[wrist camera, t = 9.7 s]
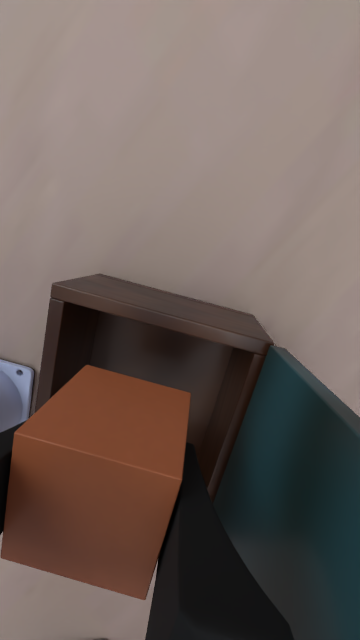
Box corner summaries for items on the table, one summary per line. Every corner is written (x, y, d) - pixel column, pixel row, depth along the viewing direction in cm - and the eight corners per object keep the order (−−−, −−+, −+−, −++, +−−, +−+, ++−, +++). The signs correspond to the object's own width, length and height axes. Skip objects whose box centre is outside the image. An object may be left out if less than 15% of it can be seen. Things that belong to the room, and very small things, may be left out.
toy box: (71, 429, 24) (23, 492, 17) (99, 273, 20) (51, 282, 14) (202, 466, 23) (201, 544, 17) (253, 314, 20) (275, 343, 14)
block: (70, 452, 14) (-1, 558, 9) (86, 364, 13) (13, 432, 8) (166, 479, 14) (145, 601, 9) (191, 392, 13) (182, 480, 8)
